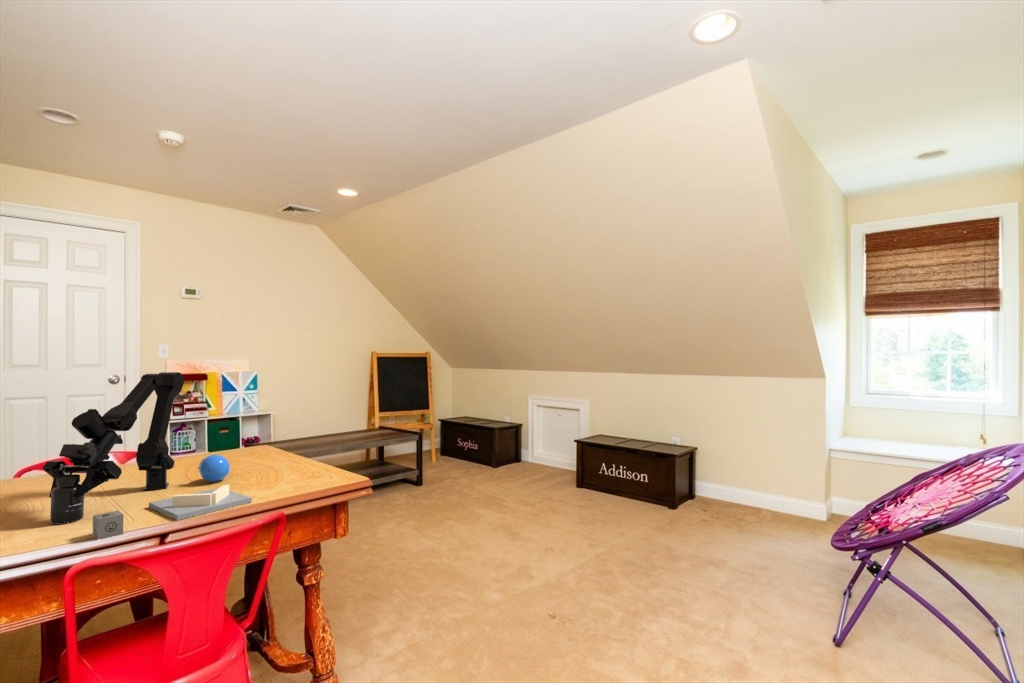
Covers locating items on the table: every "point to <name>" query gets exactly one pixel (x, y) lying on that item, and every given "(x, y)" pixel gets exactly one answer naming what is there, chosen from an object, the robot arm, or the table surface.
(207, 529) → the table surface
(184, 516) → the v cradle
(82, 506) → the supplement bottle
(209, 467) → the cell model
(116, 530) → the dice cube
